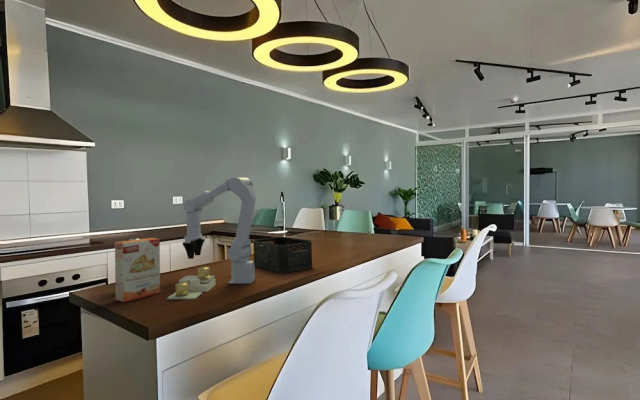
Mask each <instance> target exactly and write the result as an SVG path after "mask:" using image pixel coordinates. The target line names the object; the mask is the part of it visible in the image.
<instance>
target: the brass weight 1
mask: <svg viewBox="0 0 640 400" xmlns="http://www.w3.org/2000/svg"><path fill="white" fill-rule="evenodd" d="M174 285H175V292H176V296H177V297H182V296H186V295H188V294H189V292H188V283H187V282H182V283H181V282H178V283H176V284H174Z"/></svg>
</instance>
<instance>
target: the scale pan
mask: <svg viewBox="0 0 640 400" xmlns="http://www.w3.org/2000/svg"><path fill="white" fill-rule="evenodd" d="M183 279H198V275H185V276H184V277H182V278H180V279H179V280H178V283H181V282H183ZM212 279H216V278H215V275H210V278H208V279H200V282H209V281H211V280H212Z"/></svg>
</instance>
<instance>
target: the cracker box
mask: <svg viewBox="0 0 640 400" xmlns="http://www.w3.org/2000/svg"><path fill="white" fill-rule="evenodd" d="M160 241H161V240H160V238H157V237H156V238H155V237H147V238H139V239H138V240H130V241H129V240H122V241H115V242H114V267H115V268H114V275H115V279H114V281H115V287H114V288H115V301H118V302H122V303H128V302H131V301H135V300H137V299H141V298H146V297H149V296H153V295H157V294H160V293H161V267H160V266H161V260H160V259H161V255H160V254H161V250H160V248H161V247H160V245H161V244H160V243H161V242H160Z"/></svg>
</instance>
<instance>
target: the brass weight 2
mask: <svg viewBox="0 0 640 400" xmlns="http://www.w3.org/2000/svg"><path fill="white" fill-rule="evenodd" d="M210 269H211V268H210V267H209V266H200V267H198V268H197V271H198V272H197V276H198V279H208V278H210V276H211V271H210Z"/></svg>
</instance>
